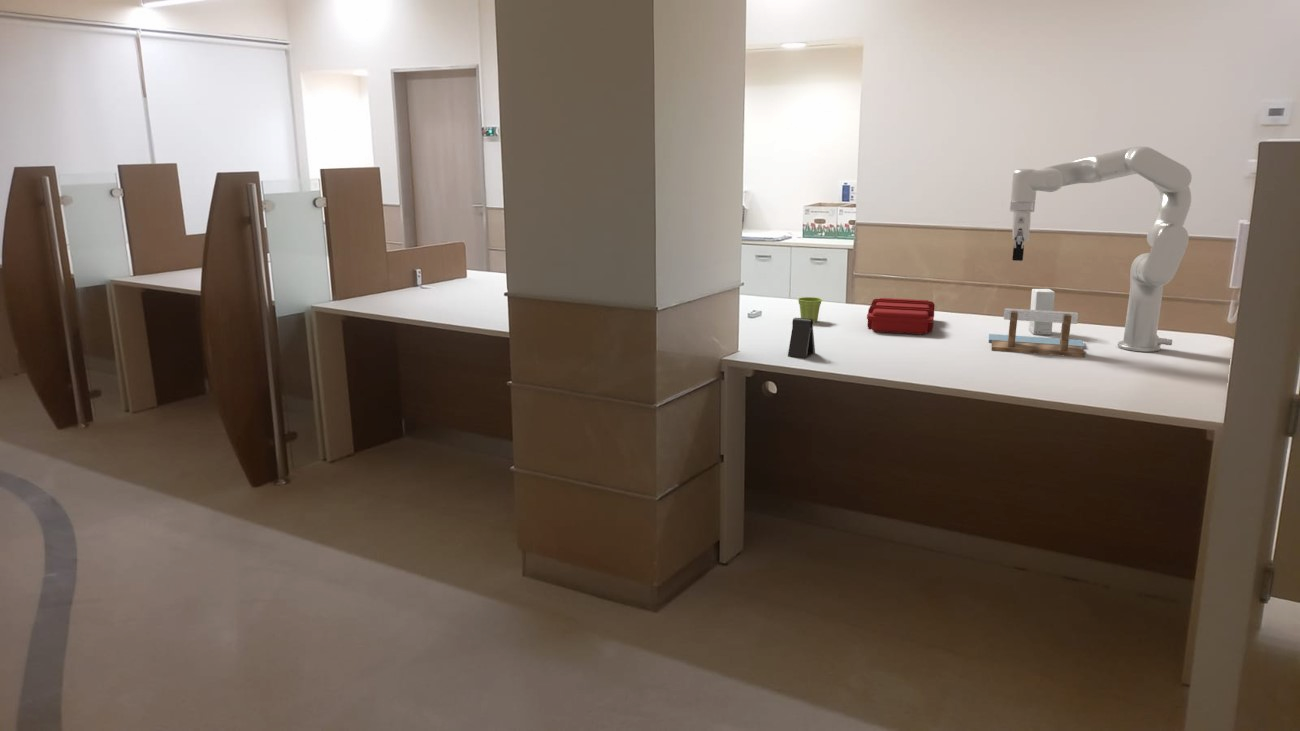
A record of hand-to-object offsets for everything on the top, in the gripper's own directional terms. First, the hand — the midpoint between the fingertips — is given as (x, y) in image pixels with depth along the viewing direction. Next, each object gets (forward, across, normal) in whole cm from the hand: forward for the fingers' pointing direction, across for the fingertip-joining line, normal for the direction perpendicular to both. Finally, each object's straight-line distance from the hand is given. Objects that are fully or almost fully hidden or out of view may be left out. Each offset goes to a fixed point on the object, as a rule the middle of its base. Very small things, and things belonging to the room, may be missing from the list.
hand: (1017, 258), depth 302 cm
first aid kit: (+29, +15, +38) cm, 51 cm away
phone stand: (+29, -43, +63) cm, 81 cm away
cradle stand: (+29, -9, -8) cm, 31 cm away
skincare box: (+29, +21, -10) cm, 37 cm away
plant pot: (+29, +11, +72) cm, 79 cm away
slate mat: (+29, +3, -8) cm, 30 cm away
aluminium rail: (+19, -9, -8) cm, 23 cm away
